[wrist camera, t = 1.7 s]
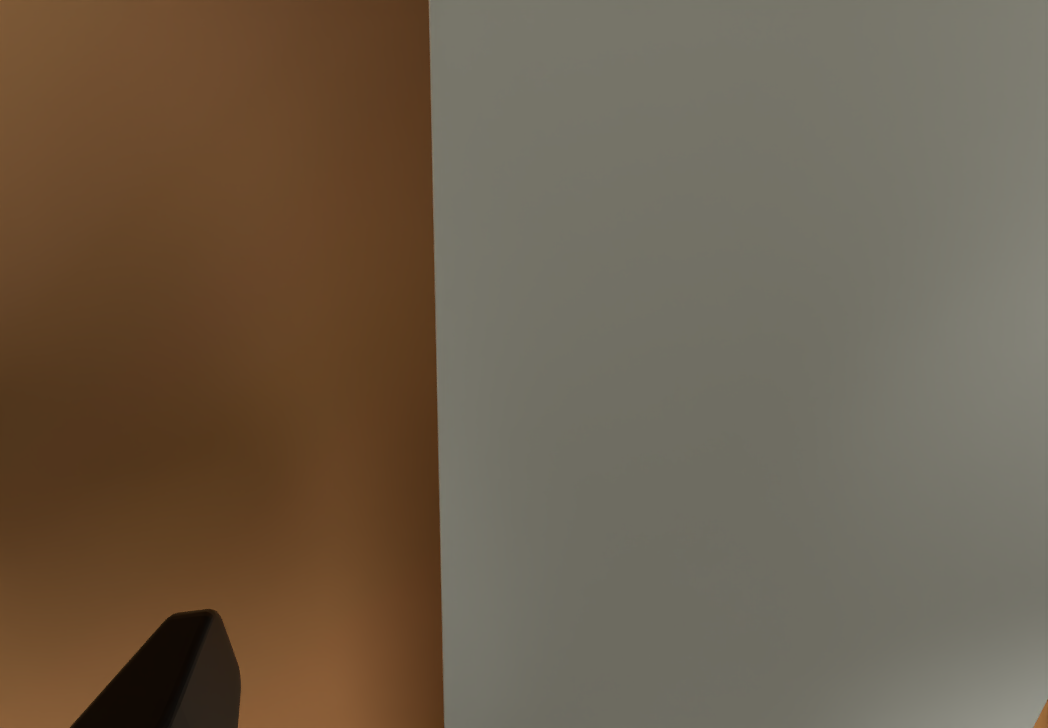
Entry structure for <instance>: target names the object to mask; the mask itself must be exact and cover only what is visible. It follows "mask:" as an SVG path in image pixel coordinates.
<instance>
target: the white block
mask: <svg viewBox="0 0 1048 728" xmlns="http://www.w3.org/2000/svg"><path fill="white" fill-rule="evenodd" d="M429 36H430V83H431V130H432V177H433V225H434V272H435V319H436V366H437V413H438V460H439V507H440V554H441V602H442V649H443V696H444V728H1033V727H1034V725H1035V723H1036V721H1037V719H1038V717H1039V715H1040V713H1041V711H1042V709H1043V707H1044V705H1045V703H1046V701H1047V699H1048V0H429Z"/></svg>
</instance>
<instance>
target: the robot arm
mask: <svg viewBox="0 0 1048 728" xmlns="http://www.w3.org/2000/svg"><path fill="white" fill-rule="evenodd" d="M240 694H241V679H240V671H239V666H238V663H237V660H236V657H235V654H234V652H233V649H232V646H231V643H230V640H229V637H228V635H227V632H226V629H225V626H224V623H223V621H222V618H221V616H220V615H219V614H218V612H217V611H215V610H212V609H205V610H196V611H188V612H180V613H175V614H173V615H171V616H170V617H168V618H167V619H166V620H165V621H164V622H163V623H162V624H161V625H160V627H159V628H158V629H157V630H156V631H155V632H154V633H153V634H152V636H151V637H150V638H149V639H148V640H147V641H146V642H145V643H144V645H143V646H142V647H141V648H140V649H139V650H138V651H137V653H136V654H135V655H134V656H133V657H132V658H131V659H130V660H129V662H128V663H127V664H126V665H125V666H124V667H123V668H122V669H121V671H120V672H119V673H118V674H117V675H116V676H115V677H114V678H113V680H112V681H111V682H110V683H109V684H108V685H107V686H106V687H105V689H104V690H103V691H102V692H101V693H100V694H99V695H98V696H97V698H96V699H95V700H94V701H93V702H92V703H91V704H90V705H89V707H88V708H87V709H86V710H85V711H84V712H83V713H82V714H81V716H80V717H79V718H78V719H77V720H76V721H75V722H74V723H73V725H72V726H71V727H70V728H238V719H239V706H240Z"/></svg>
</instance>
